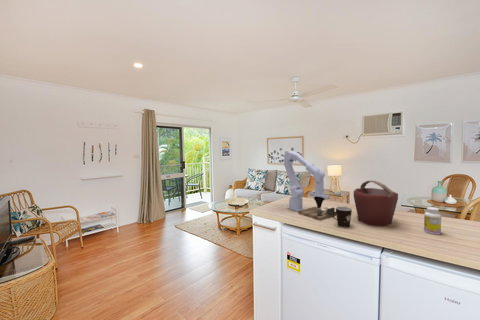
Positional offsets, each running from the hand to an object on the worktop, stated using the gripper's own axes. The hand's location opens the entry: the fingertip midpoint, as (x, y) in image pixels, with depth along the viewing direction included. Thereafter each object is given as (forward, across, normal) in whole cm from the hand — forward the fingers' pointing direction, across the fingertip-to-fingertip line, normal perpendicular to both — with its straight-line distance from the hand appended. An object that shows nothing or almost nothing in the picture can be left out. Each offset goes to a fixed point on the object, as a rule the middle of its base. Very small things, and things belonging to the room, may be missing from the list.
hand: (319, 207), depth 148 cm
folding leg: (+2, +6, -1) cm, 6 cm away
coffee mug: (+4, +21, -8) cm, 23 cm away
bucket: (+4, +29, +13) cm, 32 cm away
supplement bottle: (+4, +55, +20) cm, 59 cm away
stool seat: (+4, 0, -2) cm, 5 cm away
